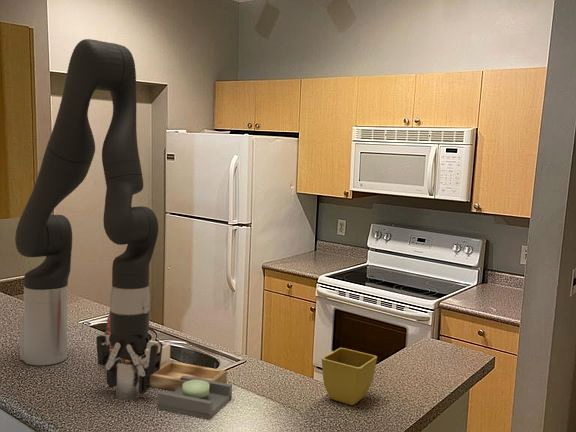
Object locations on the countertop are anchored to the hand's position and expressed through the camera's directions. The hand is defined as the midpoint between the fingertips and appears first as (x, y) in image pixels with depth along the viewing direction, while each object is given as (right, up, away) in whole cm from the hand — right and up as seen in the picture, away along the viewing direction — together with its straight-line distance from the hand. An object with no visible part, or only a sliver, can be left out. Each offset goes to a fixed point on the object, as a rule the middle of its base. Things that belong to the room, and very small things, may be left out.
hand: (128, 389), depth 116 cm
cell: (0, -1, 0) cm, 1 cm away
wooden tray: (+11, -1, +7) cm, 13 cm away
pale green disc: (+14, 0, -3) cm, 14 cm away
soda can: (-5, 0, +16) cm, 16 cm away
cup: (+2, 0, +13) cm, 13 cm away
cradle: (+14, -2, -2) cm, 14 cm away
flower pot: (+44, -3, +3) cm, 44 cm away
